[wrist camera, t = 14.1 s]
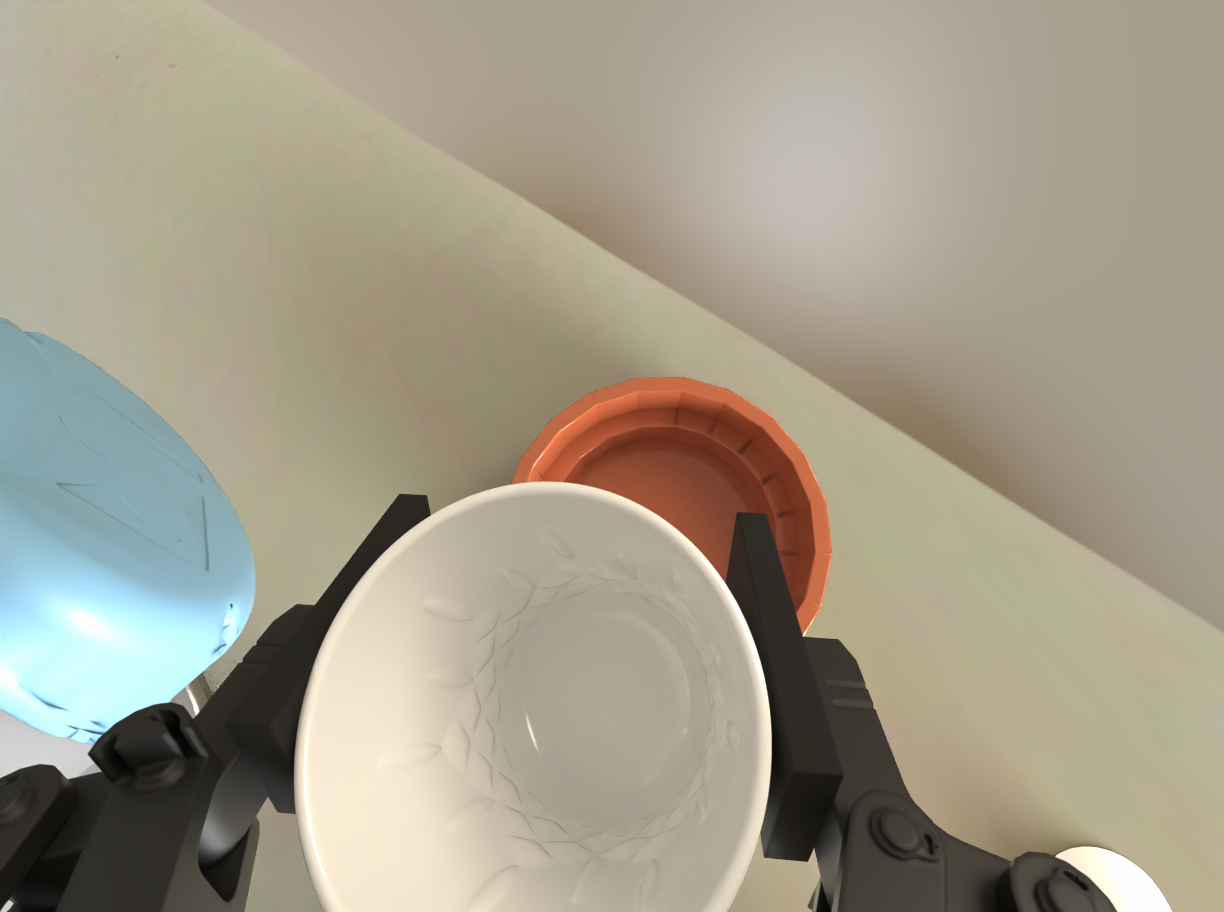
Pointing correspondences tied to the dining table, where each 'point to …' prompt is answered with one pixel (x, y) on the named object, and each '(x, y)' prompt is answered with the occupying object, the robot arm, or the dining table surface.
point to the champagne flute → (1117, 879)
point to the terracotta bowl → (694, 470)
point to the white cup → (534, 718)
